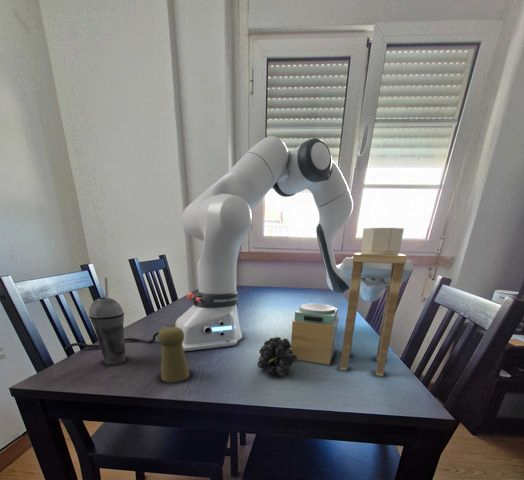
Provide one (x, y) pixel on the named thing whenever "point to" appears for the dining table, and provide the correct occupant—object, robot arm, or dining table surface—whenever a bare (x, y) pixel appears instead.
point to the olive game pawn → (173, 355)
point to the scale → (314, 333)
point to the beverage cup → (109, 328)
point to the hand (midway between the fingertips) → (377, 255)
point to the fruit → (276, 356)
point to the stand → (389, 308)
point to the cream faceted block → (381, 241)
